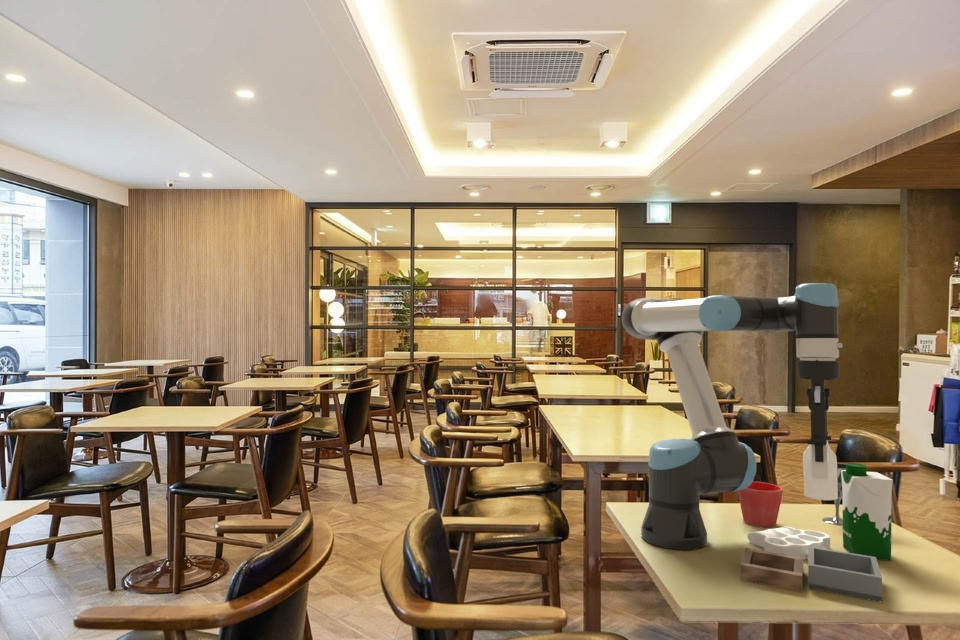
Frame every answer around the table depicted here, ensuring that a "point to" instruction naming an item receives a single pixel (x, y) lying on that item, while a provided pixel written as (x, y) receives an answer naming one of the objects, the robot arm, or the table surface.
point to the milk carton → (866, 512)
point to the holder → (772, 569)
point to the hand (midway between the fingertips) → (820, 475)
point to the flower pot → (760, 503)
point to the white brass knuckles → (789, 540)
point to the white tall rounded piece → (817, 486)
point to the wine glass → (837, 519)
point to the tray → (844, 573)
